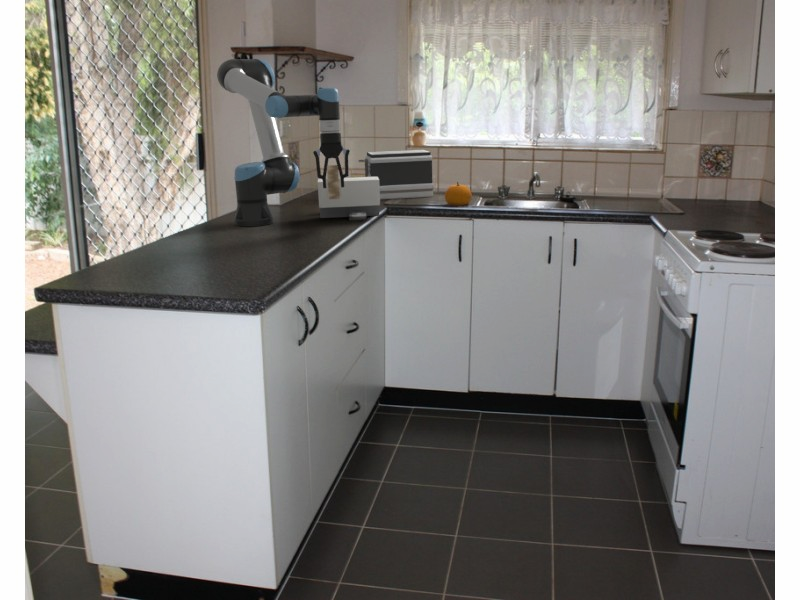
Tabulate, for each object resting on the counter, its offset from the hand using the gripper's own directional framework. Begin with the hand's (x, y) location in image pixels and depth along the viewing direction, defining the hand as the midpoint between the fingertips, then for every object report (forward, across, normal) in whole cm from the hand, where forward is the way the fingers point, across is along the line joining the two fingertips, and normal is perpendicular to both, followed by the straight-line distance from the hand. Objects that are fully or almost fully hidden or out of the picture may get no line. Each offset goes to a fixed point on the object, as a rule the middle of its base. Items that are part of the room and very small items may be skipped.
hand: (334, 196), depth 279 cm
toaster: (+11, +29, +82) cm, 88 cm away
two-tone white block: (+11, +6, +21) cm, 25 cm away
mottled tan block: (+1, 0, +6) cm, 6 cm away
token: (+12, +9, +19) cm, 24 cm away
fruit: (+12, +54, +45) cm, 71 cm away
